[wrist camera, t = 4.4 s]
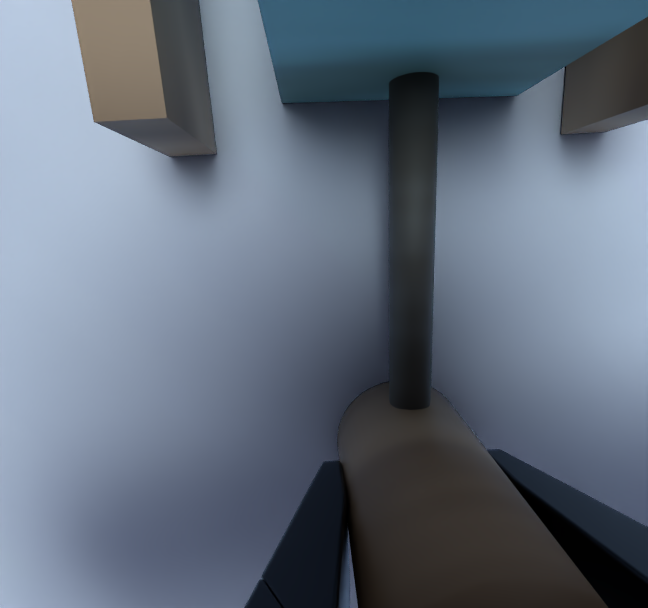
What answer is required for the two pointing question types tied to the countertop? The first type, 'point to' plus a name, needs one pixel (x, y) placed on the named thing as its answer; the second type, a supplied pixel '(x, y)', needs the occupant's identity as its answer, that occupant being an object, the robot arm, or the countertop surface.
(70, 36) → the countertop surface
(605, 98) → the walnut lane rack
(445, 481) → the blue handled block
